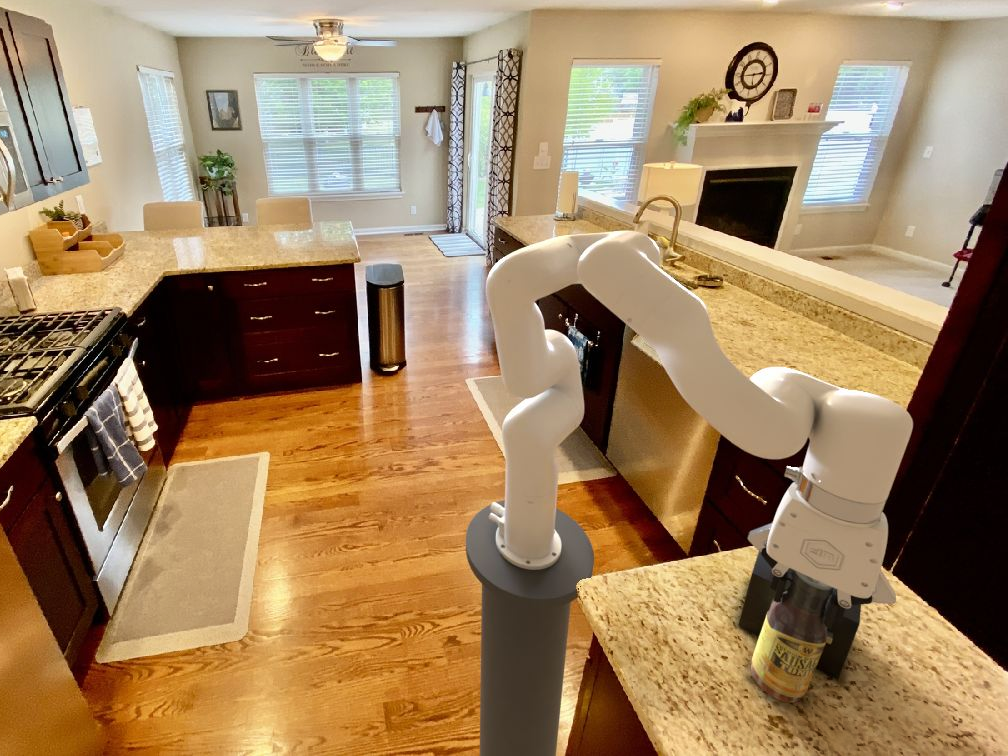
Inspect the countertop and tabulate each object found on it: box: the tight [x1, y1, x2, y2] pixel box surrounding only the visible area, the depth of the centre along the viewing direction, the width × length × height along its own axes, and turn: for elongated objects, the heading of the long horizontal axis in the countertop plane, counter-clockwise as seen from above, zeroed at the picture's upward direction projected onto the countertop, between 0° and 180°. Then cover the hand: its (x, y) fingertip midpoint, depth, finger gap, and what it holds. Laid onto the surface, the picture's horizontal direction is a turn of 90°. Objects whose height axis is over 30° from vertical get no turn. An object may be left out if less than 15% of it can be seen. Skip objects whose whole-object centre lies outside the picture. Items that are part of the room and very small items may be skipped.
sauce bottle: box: [750, 570, 834, 704], centre depth 65 cm, size 7×6×20 cm
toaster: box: [737, 540, 862, 681], centre depth 73 cm, size 12×11×11 cm
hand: (802, 605), depth 63 cm, fingers closed on sauce bottle, 4 cm apart
